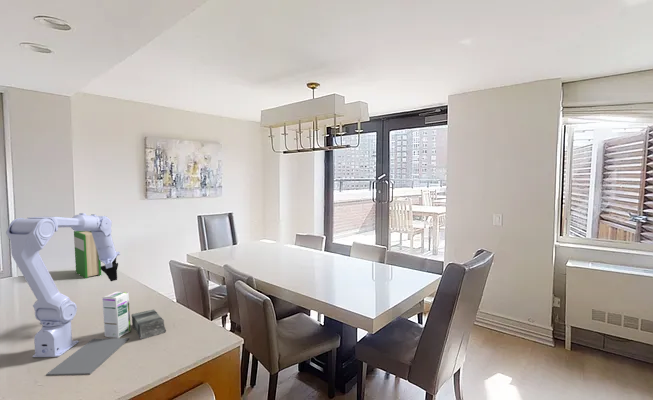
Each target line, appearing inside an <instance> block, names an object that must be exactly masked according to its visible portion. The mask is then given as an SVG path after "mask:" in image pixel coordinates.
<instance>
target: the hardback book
mask: <svg viewBox="0 0 653 400" xmlns="http://www.w3.org/2000/svg"><path fill="white" fill-rule="evenodd" d="M73 241H74V258H75V259H74V263H75V273H76V272H77V273H76V274H78V275H79V274H80V275H79V276H81V277H82V276H83V277H82V278H84V279H85V278H86V279H89V277H93V276H99V277H100V275H101V276H102V270H101V266H102V264H101V263H102V262H101V261H100V260H99V256H98V252H97V249H96V246H95V242H94V239H93V236H92V232H91V231H74V230H73Z"/></svg>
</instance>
